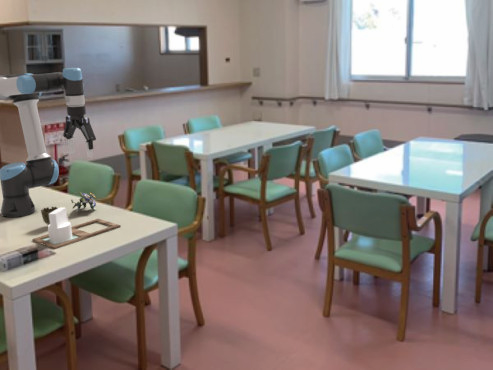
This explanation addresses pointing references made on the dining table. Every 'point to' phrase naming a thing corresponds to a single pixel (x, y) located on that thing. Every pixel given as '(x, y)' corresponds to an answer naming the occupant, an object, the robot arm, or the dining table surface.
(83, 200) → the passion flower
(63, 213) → the base with upright slab
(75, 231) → the frame with rectangular openings
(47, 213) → the cup
